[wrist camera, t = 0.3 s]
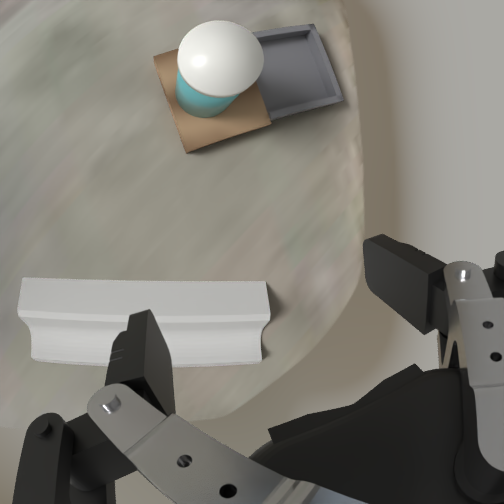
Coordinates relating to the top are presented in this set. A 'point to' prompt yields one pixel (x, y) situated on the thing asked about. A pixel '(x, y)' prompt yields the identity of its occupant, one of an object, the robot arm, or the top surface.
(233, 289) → the crown molding
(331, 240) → the top surface
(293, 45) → the tray
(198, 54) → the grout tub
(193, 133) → the light tan wooden board
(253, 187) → the top surface
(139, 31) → the top surface
